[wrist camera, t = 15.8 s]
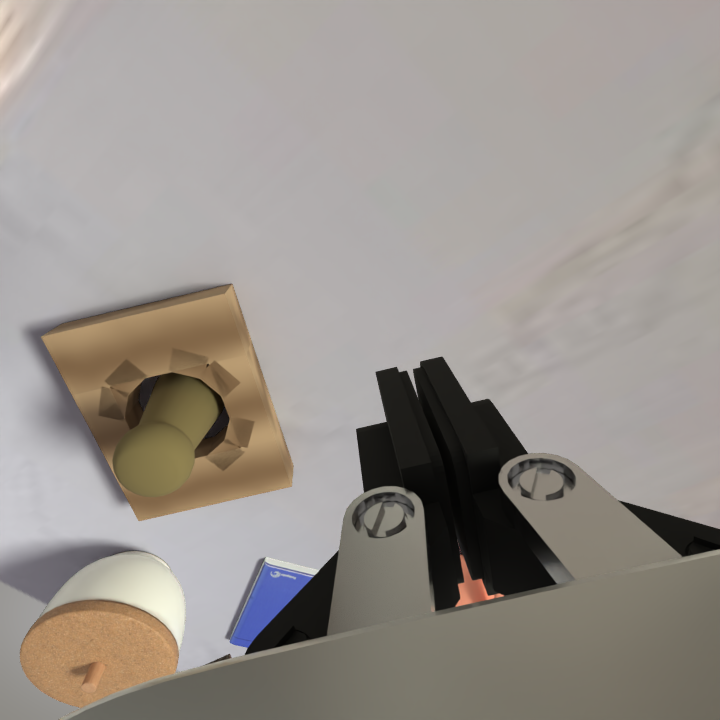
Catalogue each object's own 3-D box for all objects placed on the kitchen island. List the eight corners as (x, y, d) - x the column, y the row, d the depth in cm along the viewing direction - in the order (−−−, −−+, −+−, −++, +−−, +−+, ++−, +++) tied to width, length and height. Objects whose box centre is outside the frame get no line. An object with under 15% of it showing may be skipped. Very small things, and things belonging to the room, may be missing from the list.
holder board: (61, 323, 37) (41, 336, 34) (232, 283, 37) (225, 293, 34) (150, 498, 44) (138, 521, 42) (293, 466, 44) (291, 486, 41)
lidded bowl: (99, 629, 51) (44, 746, 40) (51, 541, 46) (-27, 650, 35) (215, 608, 51) (188, 720, 41) (179, 519, 46) (138, 621, 35)
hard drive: (264, 564, 47) (228, 644, 52) (339, 583, 49) (299, 658, 53) (266, 552, 49) (231, 631, 53) (339, 571, 51) (299, 645, 55)
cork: (237, 412, 42) (210, 493, 31) (176, 436, 42) (130, 523, 32) (204, 354, 39) (163, 422, 29) (139, 380, 40) (77, 454, 30)
